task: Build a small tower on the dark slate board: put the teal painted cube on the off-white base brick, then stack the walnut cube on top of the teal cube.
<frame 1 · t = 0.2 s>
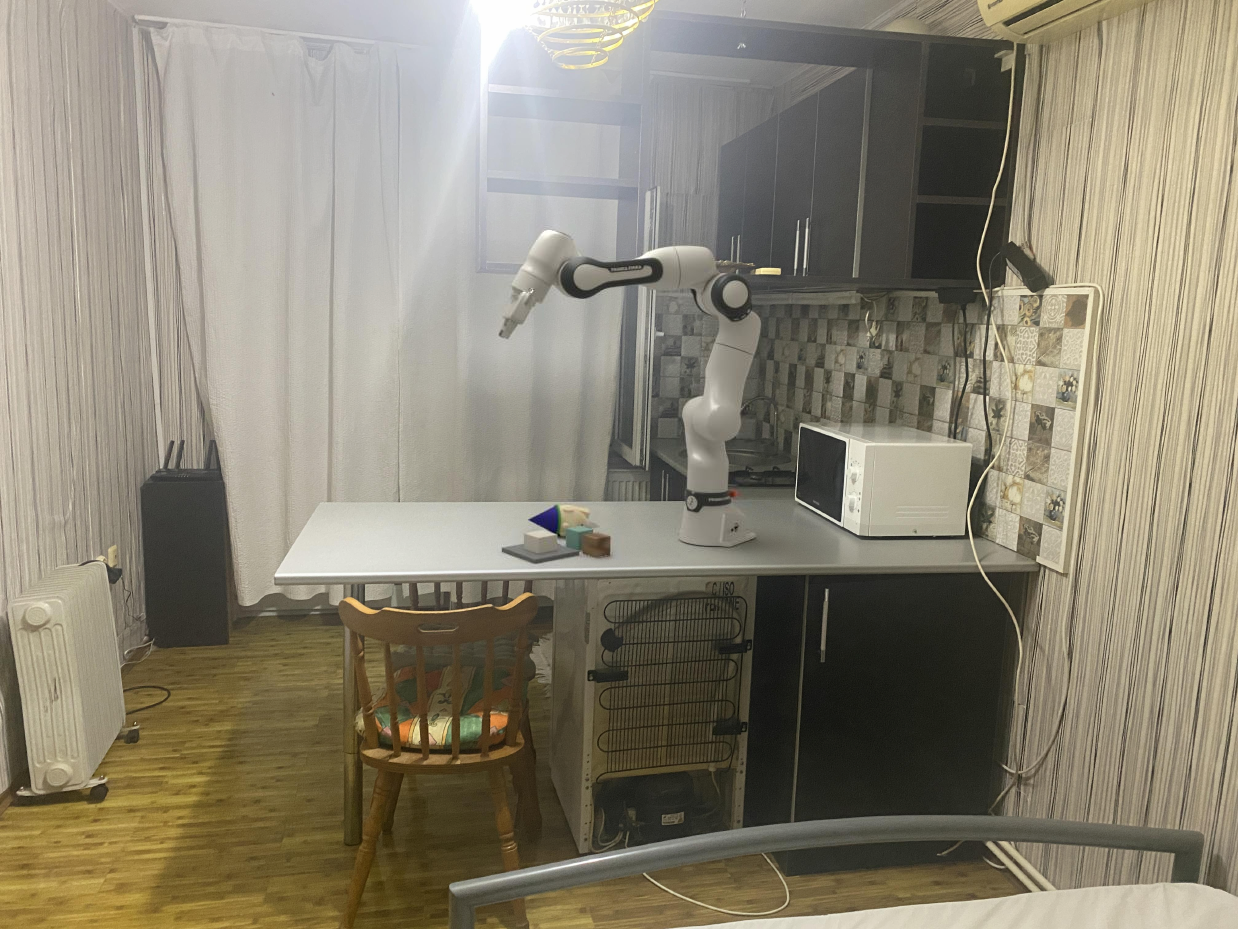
hand: (502, 337, 230), 54 cm above the kitchen counter, fingers open, 8 cm apart
cartoon head: (563, 535, 254), on the kitchen counter
build board: (540, 553, 233), on the kitchen counter
teal block: (579, 547, 241), on the kitchen counter
walnut block: (596, 554, 234), on the kitchen counter
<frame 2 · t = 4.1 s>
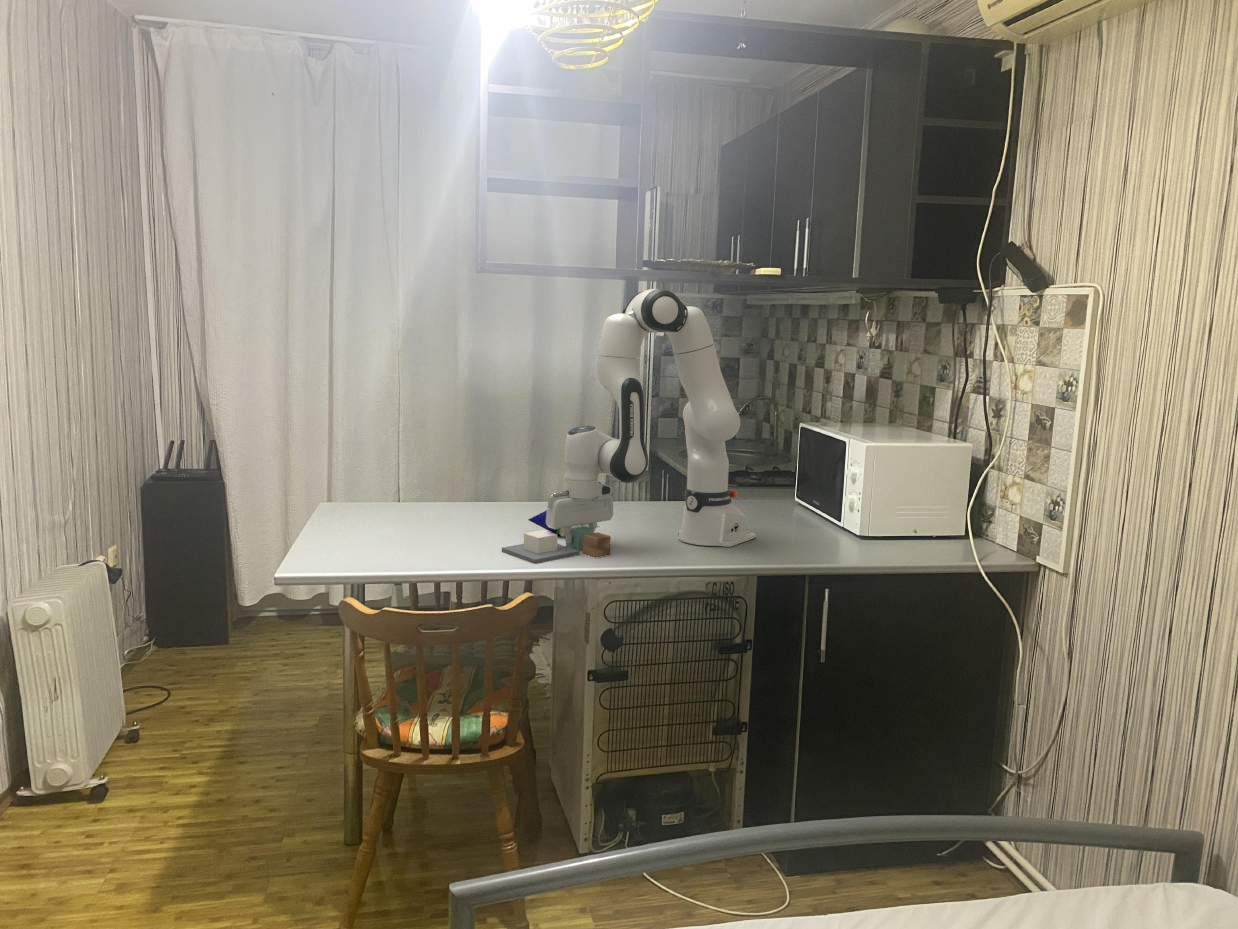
hand: (579, 541, 240), 2 cm above the kitchen counter, fingers closed on teal block, 5 cm apart
teal block: (579, 547, 241), on the kitchen counter, touching gripper
everything else where it was.
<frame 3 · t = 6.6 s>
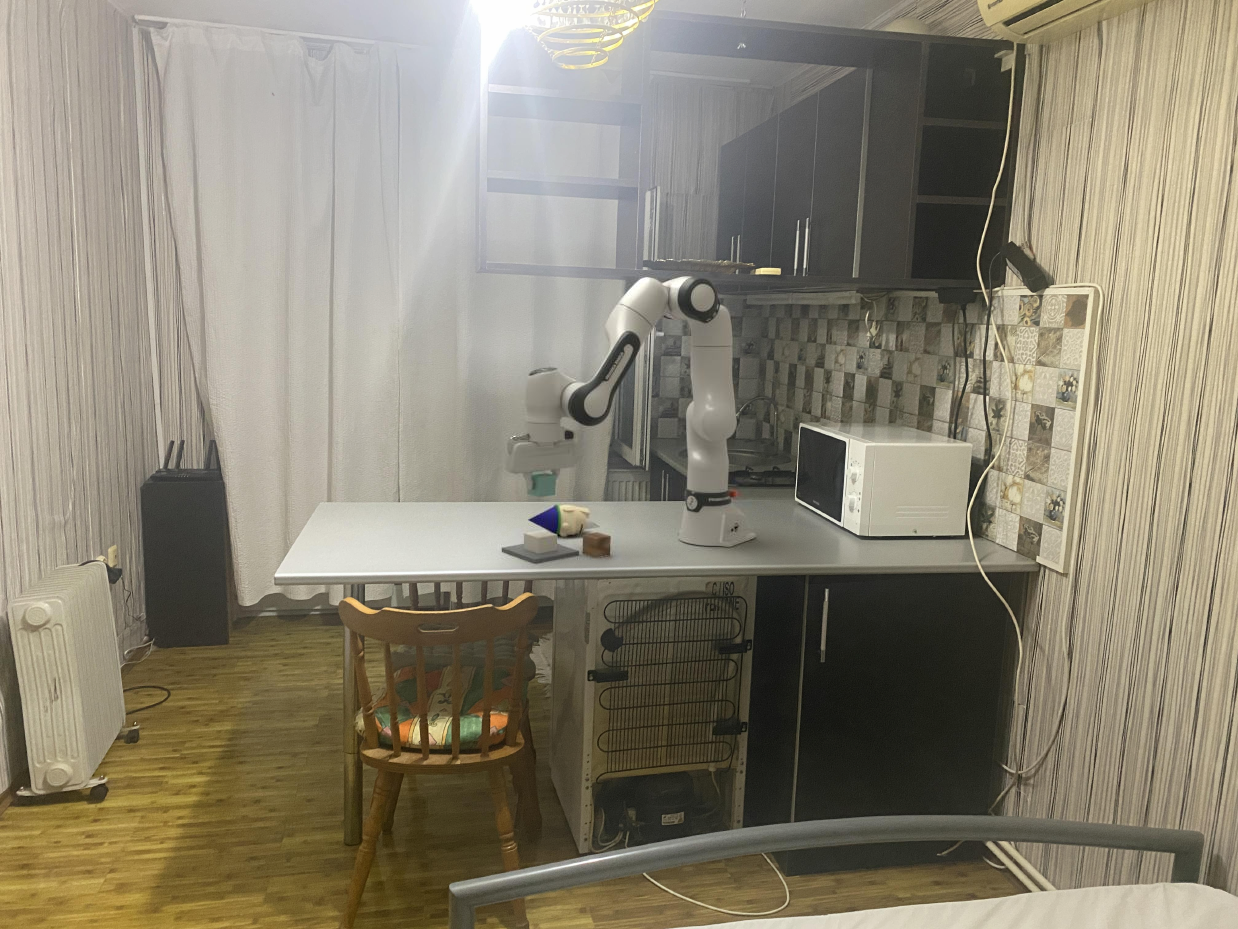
hand: (541, 488, 231), 17 cm above the kitchen counter, fingers closed on teal block, 5 cm apart
teal block: (541, 494, 231), point 15 cm above the kitchen counter, touching gripper
everything else where it was.
when the fingers open (8 cm above the kitchen counter, at t = 9.0 s): teal block stays where it is, resting on build board.
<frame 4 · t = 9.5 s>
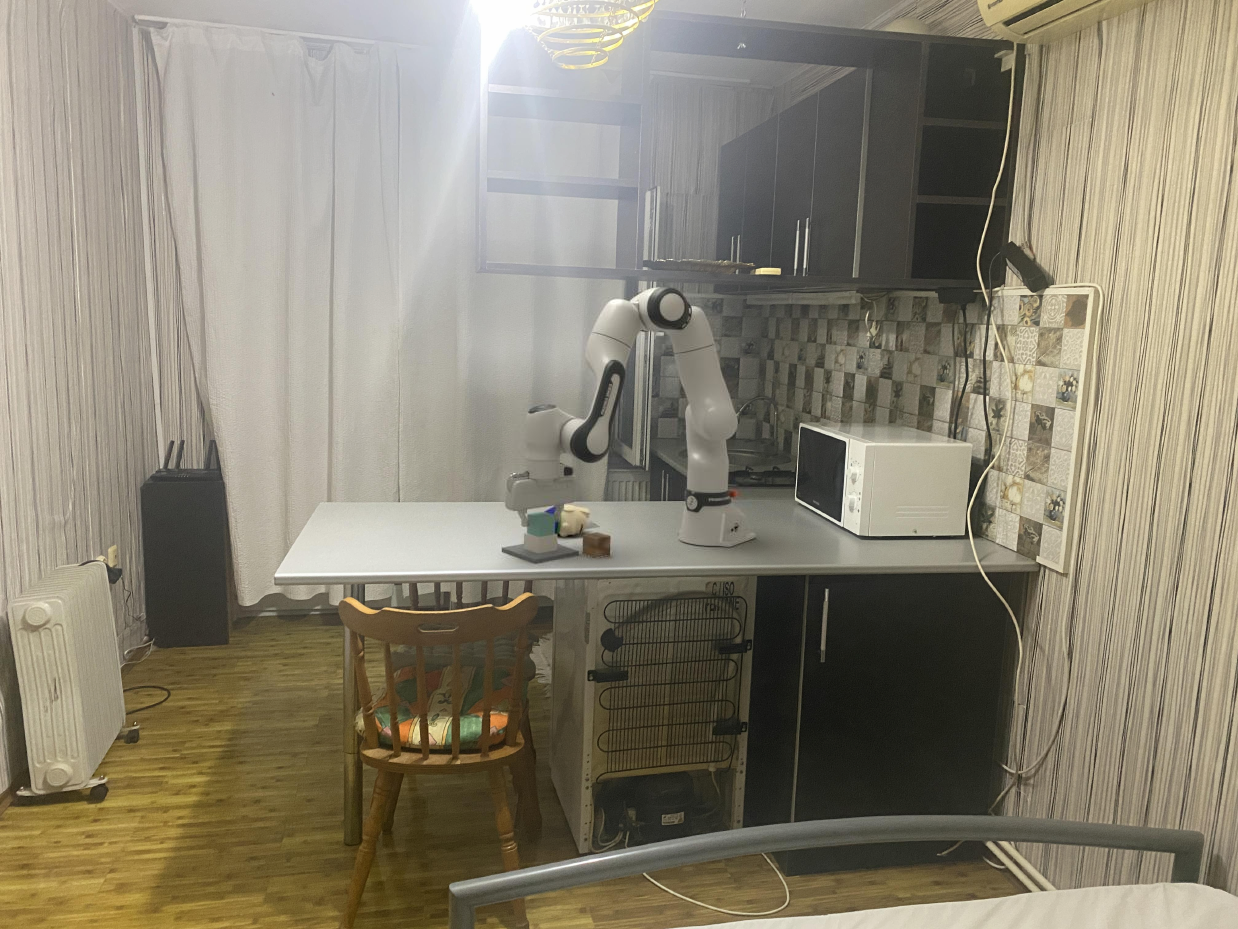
hand: (540, 524, 232), 8 cm above the kitchen counter, fingers open, 8 cm apart
teal block: (540, 533, 233), point 5 cm above the kitchen counter, touching build board
everything else where it was.
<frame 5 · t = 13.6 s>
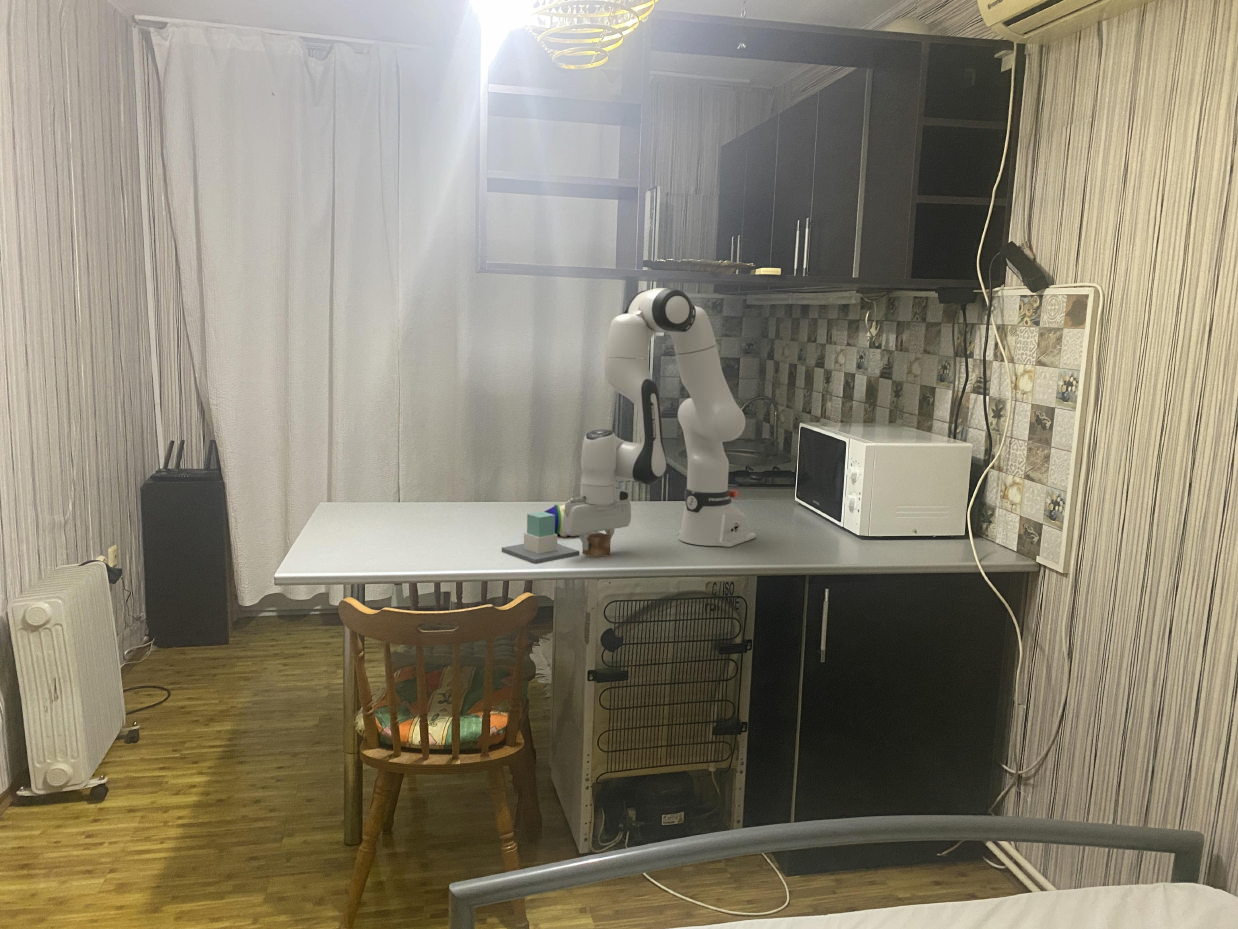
hand: (596, 547, 234), 2 cm above the kitchen counter, fingers closed on walnut block, 5 cm apart
walnut block: (596, 554, 234), on the kitchen counter, touching gripper
everything else where it was.
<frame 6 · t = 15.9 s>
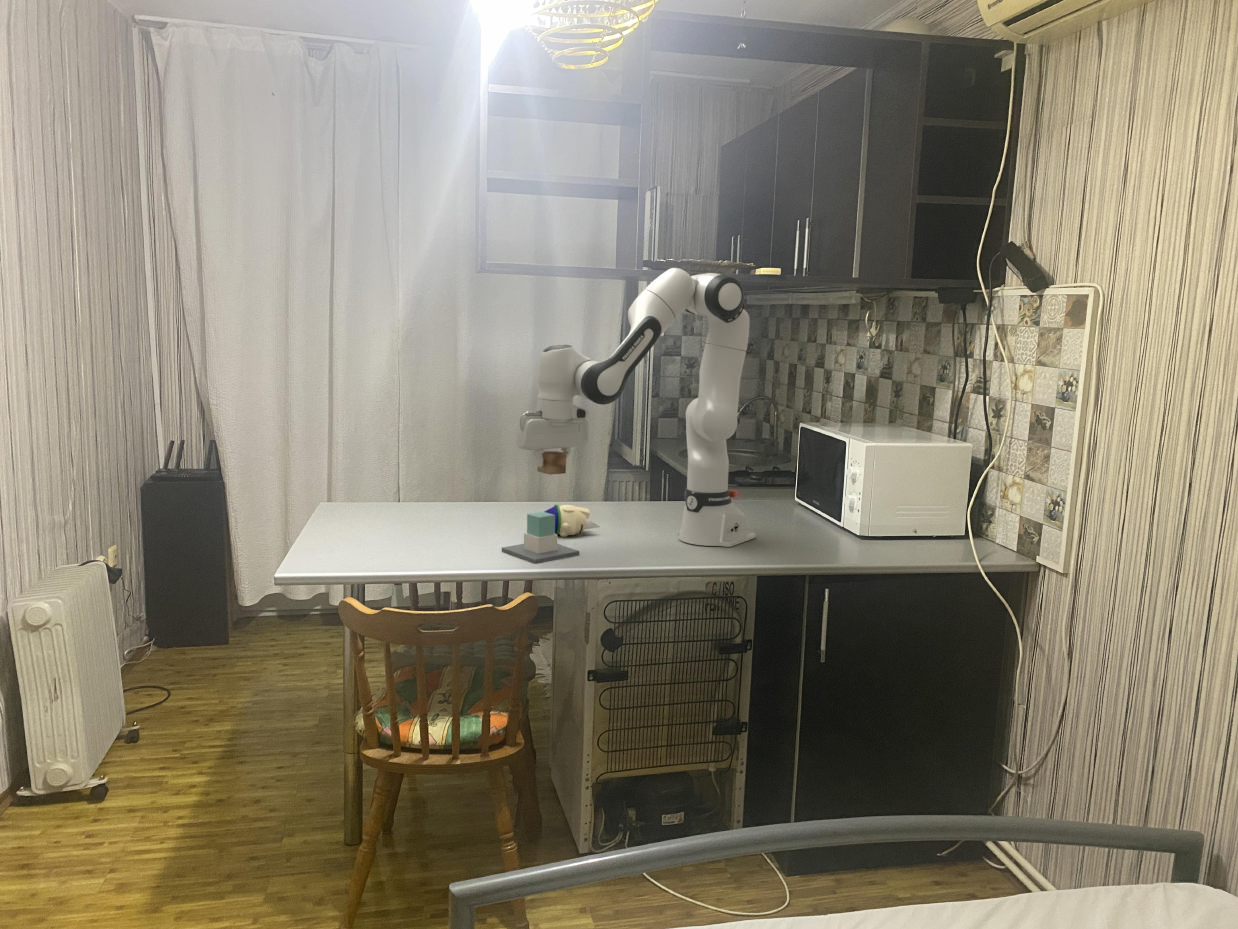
hand: (551, 465, 229), 23 cm above the kitchen counter, fingers closed on walnut block, 5 cm apart
walnut block: (551, 472, 230), point 21 cm above the kitchen counter, touching gripper
everything else where it was.
when the fingers open (13 cm above the kitchen counter, at t = 18.6 s): walnut block stays where it is, resting on teal block.
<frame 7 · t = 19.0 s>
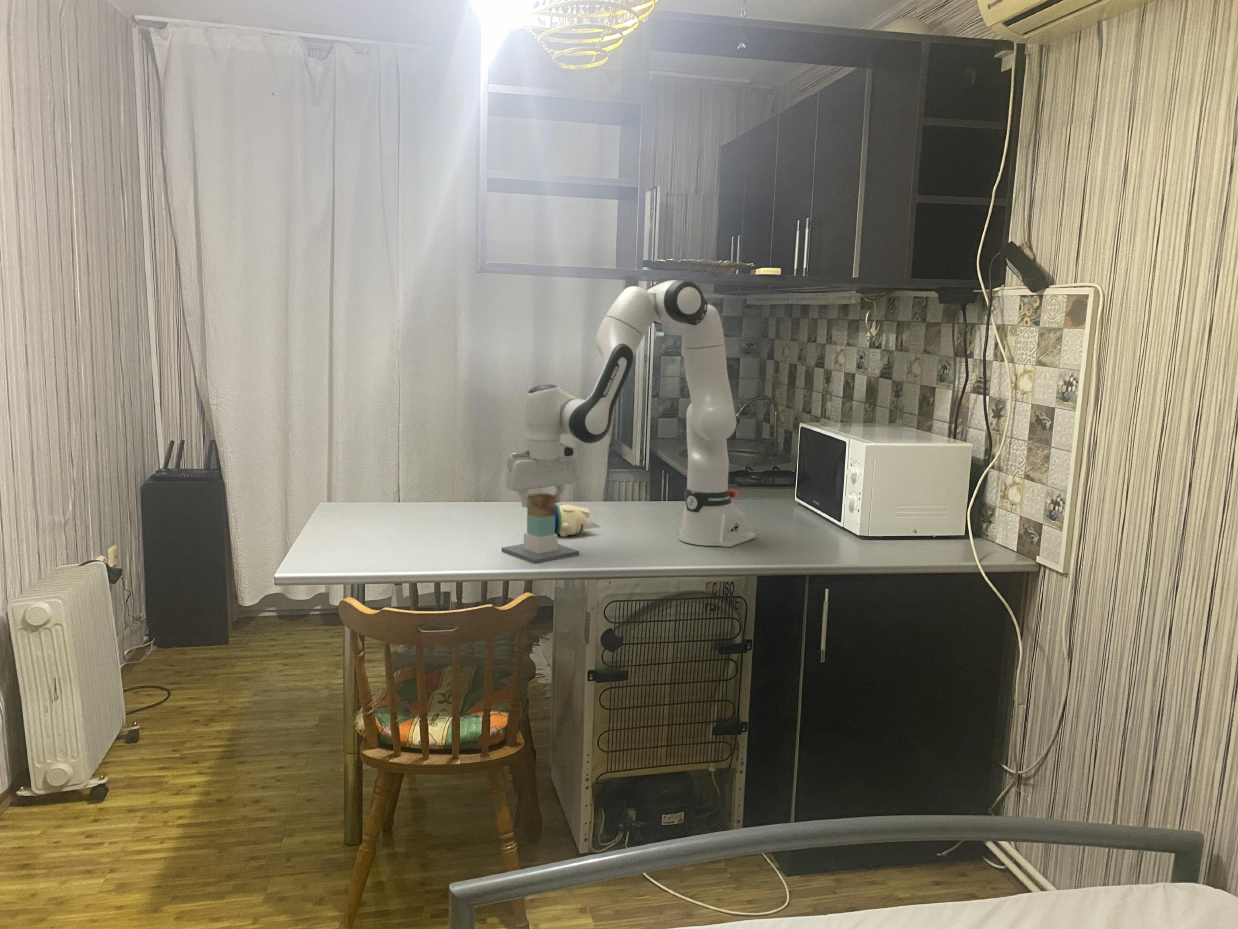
hand: (541, 504, 231), 13 cm above the kitchen counter, fingers open, 8 cm apart
teal block: (540, 533, 233), point 5 cm above the kitchen counter, touching build board, walnut block
walnut block: (541, 514, 232), point 10 cm above the kitchen counter, touching teal block
everything else where it was.
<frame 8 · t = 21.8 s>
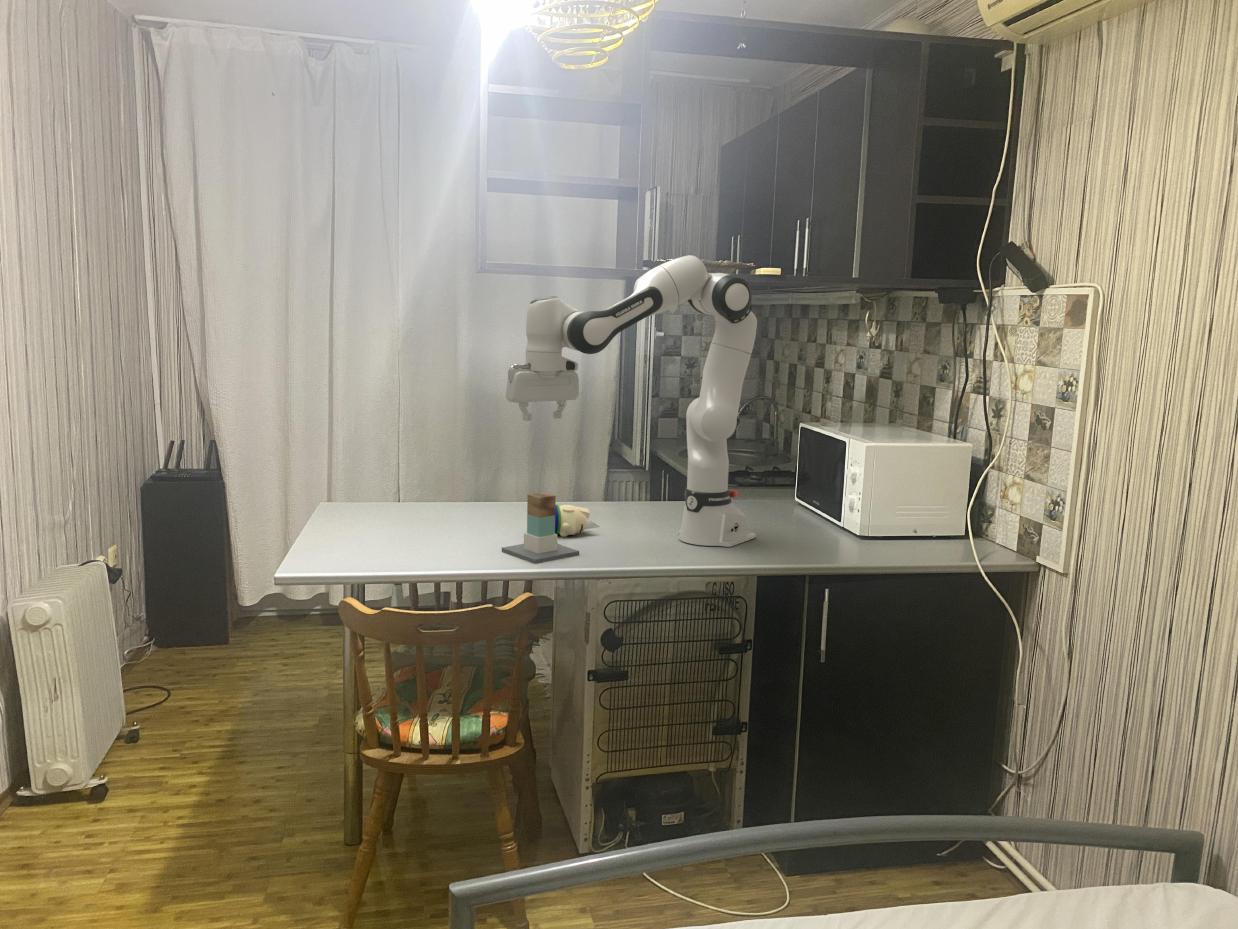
hand: (542, 419, 228), 34 cm above the kitchen counter, fingers open, 8 cm apart
nothing on the kitchen counter moved.
at the end: teal block 0.1 cm off-centre on the build board, point 5.0 cm above the build board's base; walnut block 0.0 cm off-centre on the teal block, point 5.0 cm above the teal block's base; walnut block tilted 0° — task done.
